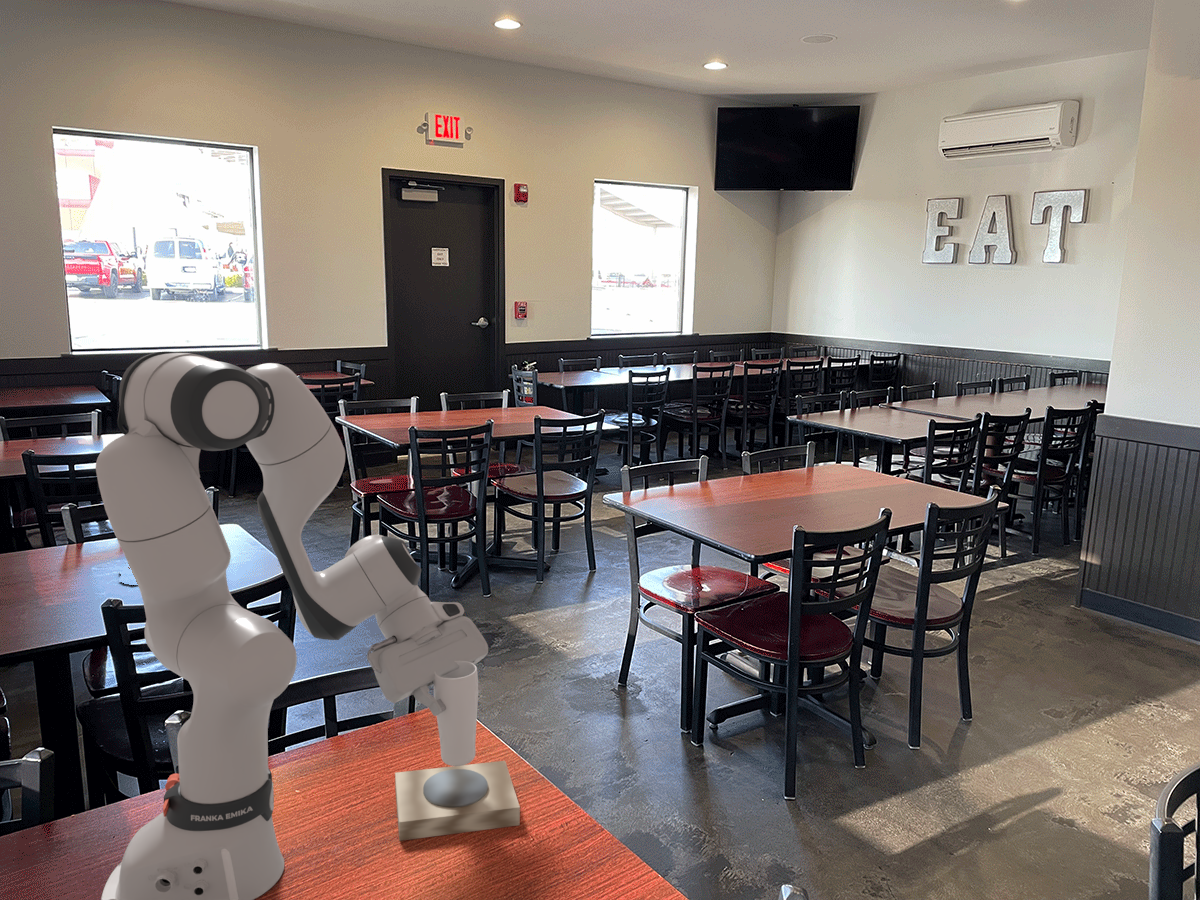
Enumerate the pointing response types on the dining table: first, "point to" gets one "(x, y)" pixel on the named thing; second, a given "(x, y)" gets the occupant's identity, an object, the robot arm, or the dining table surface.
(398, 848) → the dining table surface
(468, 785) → the block
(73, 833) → the dining table surface
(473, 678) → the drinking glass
